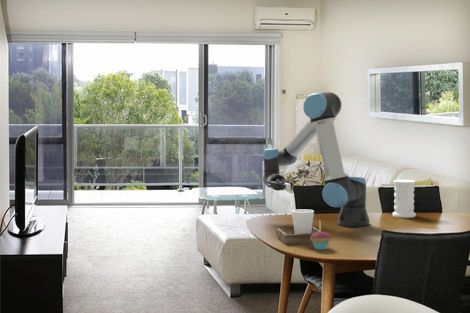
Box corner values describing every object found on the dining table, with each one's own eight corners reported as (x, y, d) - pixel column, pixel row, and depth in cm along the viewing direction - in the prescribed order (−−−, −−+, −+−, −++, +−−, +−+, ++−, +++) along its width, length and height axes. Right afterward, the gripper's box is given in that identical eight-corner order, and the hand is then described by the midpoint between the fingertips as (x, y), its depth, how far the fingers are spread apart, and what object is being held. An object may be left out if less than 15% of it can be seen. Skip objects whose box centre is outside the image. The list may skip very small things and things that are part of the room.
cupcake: (308, 246, 309) (308, 218, 308) (328, 246, 310) (328, 217, 309) (312, 251, 301) (312, 222, 300) (333, 250, 302) (333, 221, 300)
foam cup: (287, 241, 321) (287, 211, 320) (299, 237, 328) (299, 208, 327) (306, 243, 315) (306, 213, 314) (318, 240, 322) (318, 210, 321)
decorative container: (392, 217, 375) (392, 182, 374) (392, 213, 387) (392, 179, 385) (415, 218, 373) (416, 182, 371) (415, 214, 384) (415, 179, 382)
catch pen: (276, 237, 329) (276, 228, 329) (313, 235, 333) (313, 226, 332) (285, 244, 314) (285, 235, 313) (324, 242, 317) (324, 233, 316)
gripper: (290, 189, 361) (303, 194, 338) (263, 190, 359) (275, 196, 335) (289, 173, 360) (302, 178, 337) (263, 175, 358) (274, 179, 335)
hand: (289, 187), depth 336 cm, fingers closed
